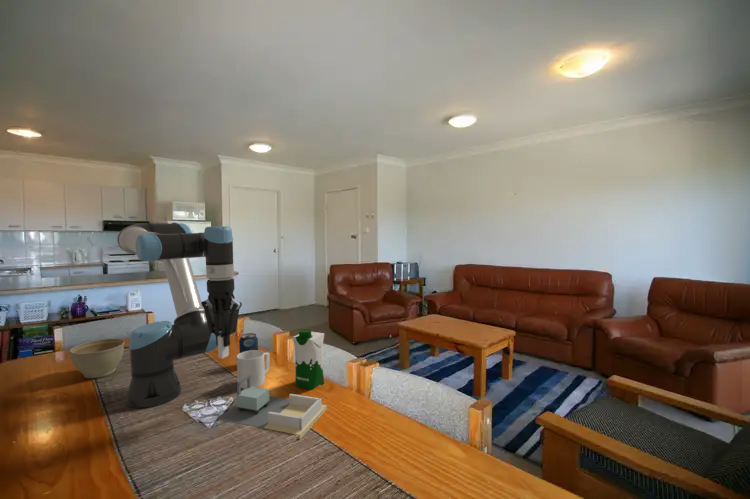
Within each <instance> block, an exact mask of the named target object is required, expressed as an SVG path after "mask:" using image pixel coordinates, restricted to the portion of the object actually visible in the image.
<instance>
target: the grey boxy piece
mask: <svg viewBox="0 0 750 499" xmlns="http://www.w3.org/2000/svg"><path fill="white" fill-rule="evenodd" d="M246 380H247V388H245V389H242V388H241V383H242V382H244V381H246ZM241 389H242V390H241ZM269 396H270V389H269V388H265V387H260V386H259V387H253V386H251V376H250V375H247V376H246V377H244V378H243V379H241V380H239V381H237V382H236V394H235V401H236V402H235V404H236V405H235V406H236V407H238V410H239V411H241V410H242V409H243V408H246V409H251V410H254V413H255V414H258V413H259V409H260V408H261V407H262V406H263V405H264V406H268V401H269Z"/></svg>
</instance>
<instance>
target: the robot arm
mask: <svg viewBox="0 0 750 499" xmlns="http://www.w3.org/2000/svg"><path fill="white" fill-rule="evenodd" d="M233 243H234V237H233V229H232V228H231V226H229V225H228V226H227V225H226V226H205V228H204V231H203V232H193V231H192V230H191V228H190V226H188V225H187V224H185V223H182V222H181V223H178V222H170V223H169V222H166V223H165V222H164V223H161V222H158V223H156V222H154V223H153V222H150V223H149V222H148V223H147V222H143V223H142V222H141V223H133V224H131V225H128V226H127V227H124V228H122V229H121V230H120V231H119V233H118V235H117V245H118V246H119V248H120V249H121V250H122V251H123V252H125V253H126V254H127V253H129V254H132V255H136V256H137V259H138V260H140V261H142V262H143V261H144V262H147V261H149V262H154V261H160V262H163V267H164V271H165V274H166V278H167V283H168V286H169V289H170V294H171V297H172V302H173V306H174V309H175V314H176V317H175V318H174V320H173V323H172V322H171V321H170V320H160V321H153V322H151V323H146V324H143V325H141V326H138V327H137V328H135V329H134V330H133V331H132V332H131V333H130V335H129V346H128V349H129V355H130V356H129V357H130V373H131V376H130V377H131V379H130V382H129V386H128V389H127V392H126V393H125V394H126V395H125V404H126V405H127V406H128V407H131V408H136V409H139V408H151V407H154V406H159V405H162V404H166V403H168V402H170V401H172V400H174V399H175V398H177V397H178V396H179V395H180V394H181V392H182V385H181V382H180V381H179V378H178V374H177V373H176V371H175V367H174V366H175V365H174V364H175V363H174V361H177V360H180V359H185V358H190V357H193V356H197V355H201V354H206V353H209V352H213V351H214V350H216V349H217V355H218V356H217V358H218V359H225V358H226V357H229V355H230V352H229V351H230V350H229V346H230V345H231V335H232V334H235V333H236V332H237V325H238V320H239V314H240V309H241V307H242V306H243V303H242V301H238V300H236V298H235V295H234V292H235V279H234V278H233V277H234V276H235V267H234V244H233ZM193 258H205V272H206V278H207V280H206V292H207V293H208V295H207V299H205V300H204V301H202V300H201V295H200V293H199V289H198V285H197V282H196V278H195V275H194V271H193V268H192V265H191V264H192V263H191V262H190V259H193Z"/></svg>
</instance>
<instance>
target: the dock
mask: <svg viewBox="0 0 750 499" xmlns="http://www.w3.org/2000/svg"><path fill="white" fill-rule="evenodd" d="M322 399H323V398H322V397H321V398H320V397H314V396H307V395H301V394H294V393H289V395H288V398H285V397H278V396H270V395H269V401H268V406H264V405H263V406H262V407H261V408H260V409H259V413H258V414H255V413H254V410H251V409H246V408H243V409H242V410H241V411H239V410H238V407H236V405H235V406H233V407H232V408H231V409H229V410H228V411H226V412H225V413H223V414H222V415H221V416H220V417H218V418H217V420H219V421H225V422H229V423H235V424H241V425H245V426H250V427H251V426H252V427H256V428H261V429H266V430H271V431H277V432H282V433H288V434H292V435H298V437H297V438H296V440H301V439H302V438H303V437H304V436H305V434H307V432H308V431H309V430H310V429H311V428H312V427H313V426H314V424H315V423H316V422H317V421H318V420H319V418H320V417H322V416H323V414H324V413H325V412H327V410H328V405H327V404H323V403H322V402H323V401H322Z"/></svg>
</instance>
